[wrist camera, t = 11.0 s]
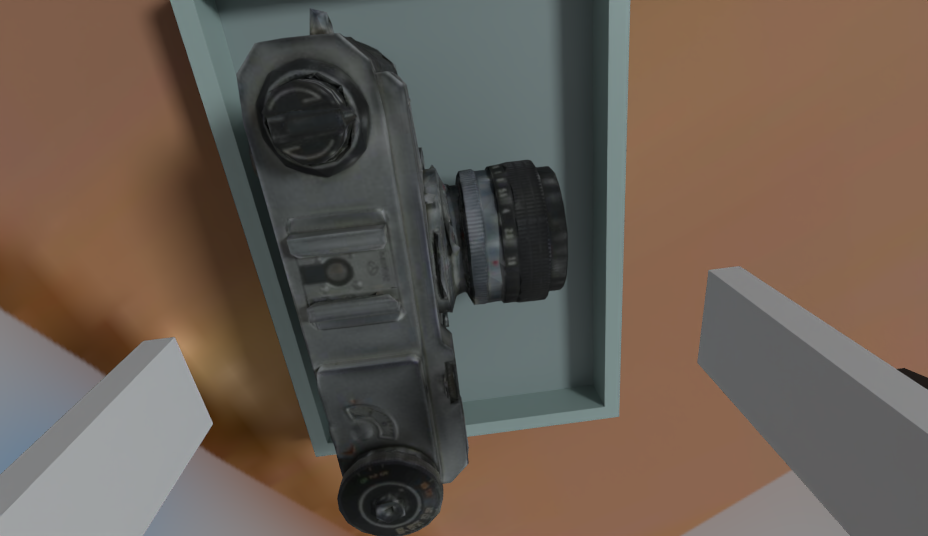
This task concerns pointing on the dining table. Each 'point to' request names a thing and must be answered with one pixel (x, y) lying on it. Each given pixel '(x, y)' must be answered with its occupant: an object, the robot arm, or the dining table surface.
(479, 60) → the storage tray
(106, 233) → the dining table surface
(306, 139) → the camera
